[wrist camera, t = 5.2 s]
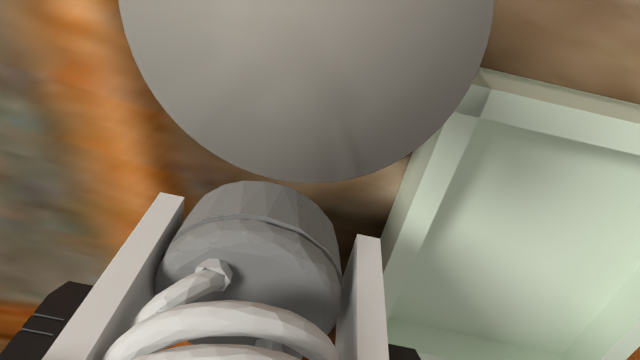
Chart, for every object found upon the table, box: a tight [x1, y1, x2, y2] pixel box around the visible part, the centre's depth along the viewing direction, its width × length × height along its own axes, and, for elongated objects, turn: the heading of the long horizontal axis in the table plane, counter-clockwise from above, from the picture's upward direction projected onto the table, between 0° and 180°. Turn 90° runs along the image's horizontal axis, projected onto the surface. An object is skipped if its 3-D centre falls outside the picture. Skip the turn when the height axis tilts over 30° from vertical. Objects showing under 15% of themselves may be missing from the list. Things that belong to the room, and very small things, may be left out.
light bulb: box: [102, 181, 342, 360], centre depth 11 cm, size 6×6×12 cm
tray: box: [380, 67, 640, 360], centre depth 18 cm, size 12×14×2 cm
